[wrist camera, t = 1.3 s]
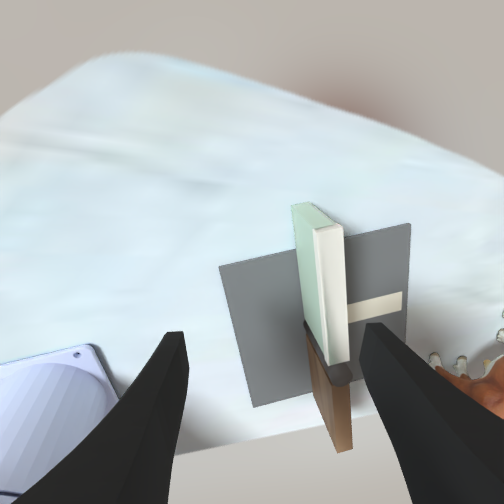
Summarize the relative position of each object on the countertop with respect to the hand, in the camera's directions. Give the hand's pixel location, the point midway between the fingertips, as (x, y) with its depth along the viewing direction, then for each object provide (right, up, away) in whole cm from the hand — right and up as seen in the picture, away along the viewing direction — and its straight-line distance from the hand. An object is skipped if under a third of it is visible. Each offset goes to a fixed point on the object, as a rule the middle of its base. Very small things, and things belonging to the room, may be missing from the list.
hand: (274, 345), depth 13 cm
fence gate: (+3, +3, +10) cm, 11 cm away
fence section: (+4, -5, +14) cm, 15 cm away
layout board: (+5, -2, +13) cm, 14 cm away
